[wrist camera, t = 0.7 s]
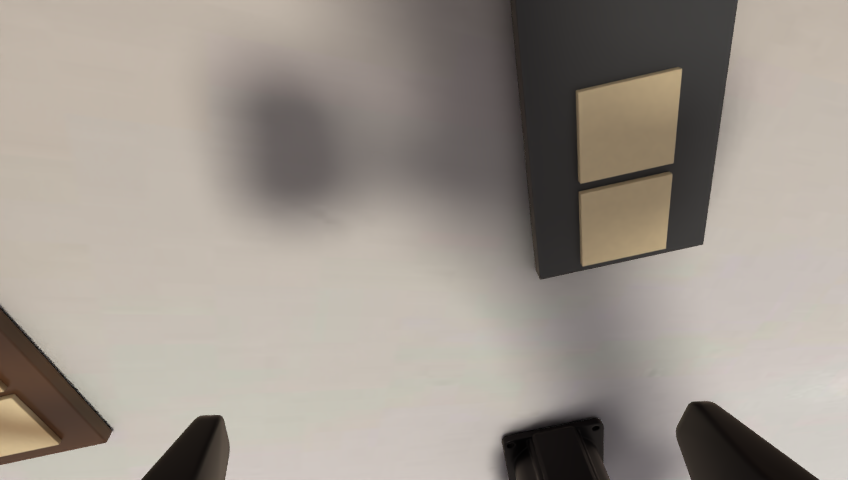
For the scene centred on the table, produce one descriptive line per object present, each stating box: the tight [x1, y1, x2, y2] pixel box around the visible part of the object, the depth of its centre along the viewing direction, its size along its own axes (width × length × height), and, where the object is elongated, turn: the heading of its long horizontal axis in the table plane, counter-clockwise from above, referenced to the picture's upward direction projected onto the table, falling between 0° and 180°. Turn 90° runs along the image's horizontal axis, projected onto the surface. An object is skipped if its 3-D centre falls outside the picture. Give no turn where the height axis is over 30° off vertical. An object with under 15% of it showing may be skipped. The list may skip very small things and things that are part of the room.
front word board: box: [510, 0, 738, 279], centre depth 20 cm, size 16×8×1 cm, turn 11°
